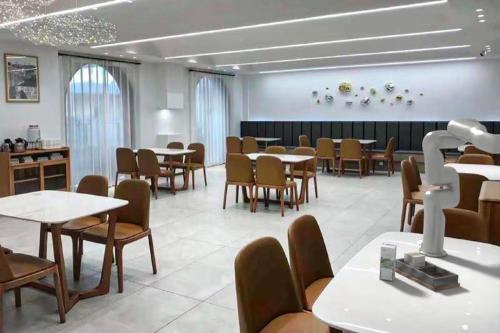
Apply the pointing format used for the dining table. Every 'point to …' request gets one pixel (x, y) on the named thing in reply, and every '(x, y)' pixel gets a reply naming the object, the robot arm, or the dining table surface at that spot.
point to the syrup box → (387, 261)
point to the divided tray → (425, 272)
